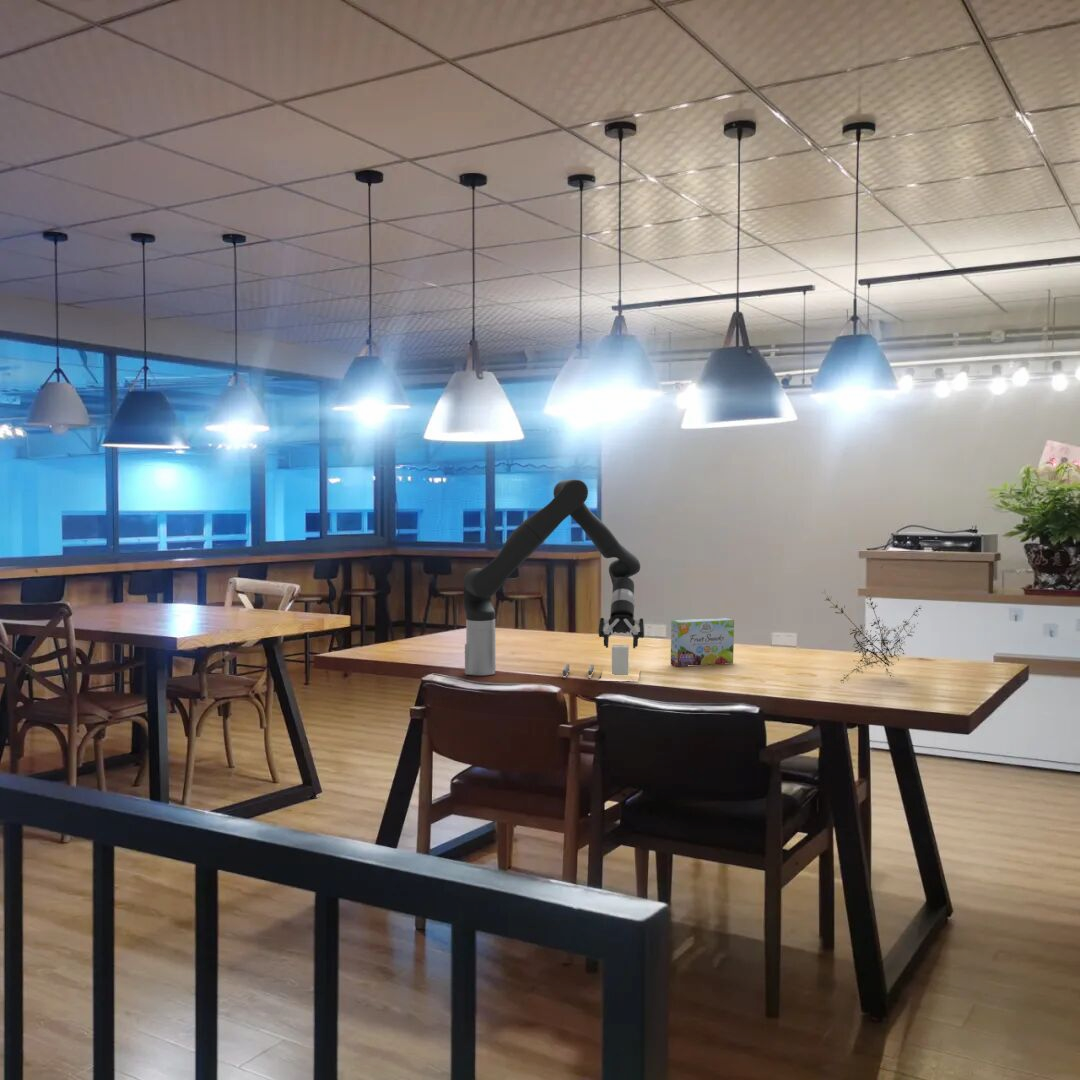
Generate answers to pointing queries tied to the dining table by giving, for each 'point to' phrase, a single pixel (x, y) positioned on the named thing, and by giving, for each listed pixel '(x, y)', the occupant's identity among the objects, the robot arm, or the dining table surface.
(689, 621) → the snack box
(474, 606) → the robot arm
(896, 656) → the dried plant
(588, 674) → the brackets
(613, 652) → the block
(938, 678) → the dining table surface
